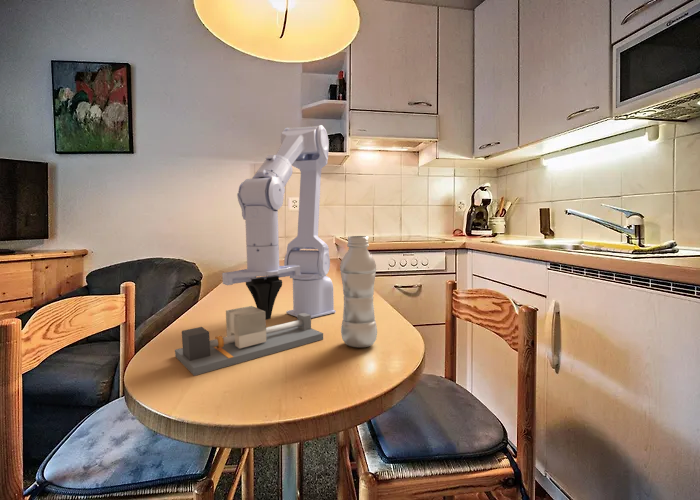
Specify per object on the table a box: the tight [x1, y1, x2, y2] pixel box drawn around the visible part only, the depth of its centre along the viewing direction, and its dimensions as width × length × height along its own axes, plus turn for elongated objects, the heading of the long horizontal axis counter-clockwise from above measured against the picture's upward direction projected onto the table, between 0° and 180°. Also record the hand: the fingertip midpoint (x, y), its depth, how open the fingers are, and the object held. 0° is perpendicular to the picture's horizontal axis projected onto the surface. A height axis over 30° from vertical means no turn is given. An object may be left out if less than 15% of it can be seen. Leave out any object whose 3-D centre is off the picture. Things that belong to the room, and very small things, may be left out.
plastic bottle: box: [339, 235, 378, 348], centre depth 66 cm, size 6×7×20 cm
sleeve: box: [225, 305, 267, 349], centre depth 65 cm, size 5×5×6 cm
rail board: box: [174, 313, 324, 377], centre depth 66 cm, size 24×10×5 cm, turn 130°
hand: (265, 318), depth 67 cm, fingers closed
